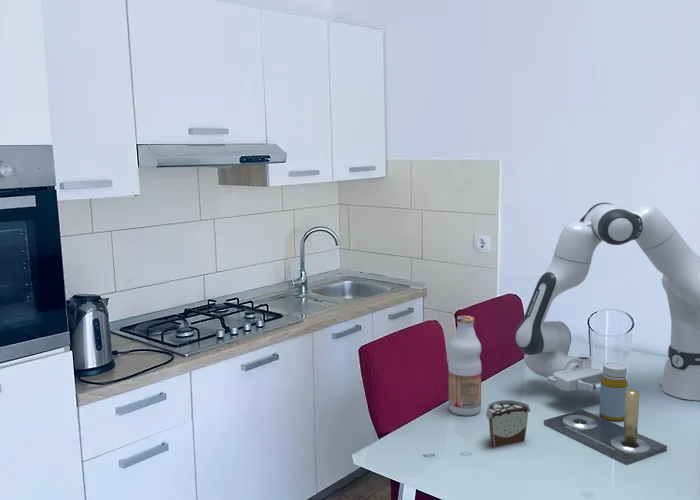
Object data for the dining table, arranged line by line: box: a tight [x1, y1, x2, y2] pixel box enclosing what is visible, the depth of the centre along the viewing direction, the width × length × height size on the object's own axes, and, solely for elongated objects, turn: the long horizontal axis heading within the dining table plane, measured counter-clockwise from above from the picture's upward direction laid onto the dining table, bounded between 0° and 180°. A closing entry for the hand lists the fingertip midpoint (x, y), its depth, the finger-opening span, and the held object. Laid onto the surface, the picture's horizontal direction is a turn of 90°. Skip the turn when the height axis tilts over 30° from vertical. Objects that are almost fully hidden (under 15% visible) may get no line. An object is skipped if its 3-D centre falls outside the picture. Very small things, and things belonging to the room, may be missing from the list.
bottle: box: [598, 362, 629, 422], centre depth 181 cm, size 7×7×15 cm
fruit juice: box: [448, 315, 482, 417], centre depth 187 cm, size 9×9×28 cm
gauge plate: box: [543, 388, 668, 465], centre depth 169 cm, size 15×27×15 cm, turn 28°
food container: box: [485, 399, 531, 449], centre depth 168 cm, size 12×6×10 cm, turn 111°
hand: (605, 385), depth 184 cm, fingers open, 8 cm apart
